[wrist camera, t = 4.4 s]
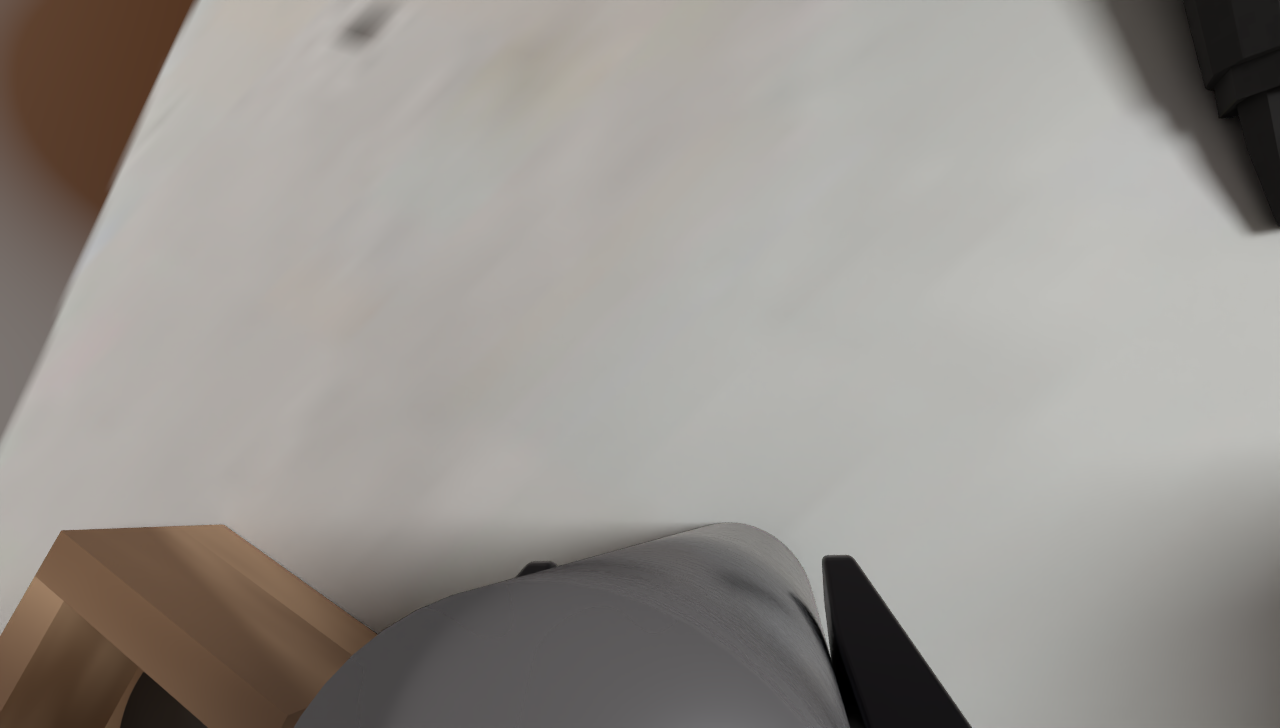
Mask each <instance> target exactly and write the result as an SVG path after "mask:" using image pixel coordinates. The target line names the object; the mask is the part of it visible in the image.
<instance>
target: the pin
mask: <svg viewBox="0 0 1280 728" xmlns="http://www.w3.org/2000/svg"><path fill="white" fill-rule="evenodd" d="M294 728H850V726H849V722H848V719H847V715H846V711H845V708H844V704H843V701H842V697H841V693H840V690H839V686H838V682H837V679H836V675H835V671H834V668H833V664H832V661H831V657H830V653H829V650H828V646H827V642H826V639H825V635H824V632H823V628H822V624H821V621H820V617H819V613H818V610H817V606H816V603H815V599H814V595H813V592H812V588H811V585H810V582H809V579H808V577H807V575H806V573H805V571H804V569H803V567H802V566H801V564H800V562H799V561H798V559H797V558H796V557H795V556H794V554H793V553H792V552H791V551H790V550H789V549H788V548H787V547H786V546H785V545H784V544H783V543H782V542H781V541H779V540H778V539H777V538H775V537H774V536H772V535H771V534H769V533H767V532H766V531H763V530H761V529H759V528H756V527H753V526H750V525H746V524H741V523H726V522H725V523H716V524H712V525H708V526H704V527H700V528H697V529H693V530H689V531H686V532H682V533H678V534H675V535H671V536H667V537H664V538H660V539H656V540H653V541H649V542H645V543H642V544H638V545H634V546H631V547H627V548H624V549H620V550H616V551H613V552H609V553H605V554H602V555H598V556H594V557H591V558H587V559H583V560H580V561H576V562H572V563H569V564H565V565H561V566H558V567H554V568H550V569H547V570H543V571H539V572H536V573H532V574H528V575H525V576H521V577H517V578H514V579H510V580H506V581H503V582H499V583H495V584H492V585H488V586H484V587H481V588H477V589H473V590H470V591H466V592H462V593H459V594H455V595H451V596H449V597H447V598H444V599H442V600H440V601H437V602H435V603H433V604H430V605H428V606H425V607H423V608H421V609H418V610H416V611H414V612H413V613H411V614H409V615H408V616H406V617H404V618H403V619H401V620H399V621H398V622H396V623H395V624H393V625H391V626H390V627H388V628H386V629H385V630H383V631H382V632H381V633H379V634H378V635H377V636H376V637H374V638H373V639H372V640H371V641H369V642H368V643H367V644H366V645H364V646H363V647H362V648H361V649H359V650H358V651H357V652H356V653H354V654H353V655H352V656H351V657H350V658H349V659H348V660H347V661H346V662H345V663H344V664H343V666H342V667H341V668H340V669H339V670H338V671H337V672H336V673H335V674H334V675H333V676H332V677H331V678H330V679H329V680H328V681H327V682H326V683H325V684H324V686H323V687H322V688H321V690H320V691H319V692H318V694H317V695H316V696H315V698H314V699H313V700H312V702H311V703H310V704H309V706H308V707H307V708H306V710H305V711H304V712H303V714H302V715H301V716H300V718H299V720H298V721H297V723H296V725H295V726H294Z"/></svg>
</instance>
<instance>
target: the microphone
mask: <svg viewBox="0 0 1280 728" xmlns="http://www.w3.org/2000/svg"><path fill="white" fill-rule="evenodd" d="M1183 2H1184V6H1185V10H1186V14H1187V18H1188V22H1189V25H1190V29H1191V33H1192V37H1193V41H1194V45H1195V49H1196V53H1197V57H1198V61H1199V65H1200V69H1201V73H1202V77H1203V81H1204V85H1205V88H1206V89H1209V90H1215V96H1216V102H1217V108H1218V114H1219V118H1231V117H1235V116H1239V118H1240V122H1241V126H1242V130H1243V133H1244V137H1245V141H1246V145H1247V149H1248V151H1249V154H1250V156H1251V159H1252V162H1253V164H1254V167H1255V169H1256V172H1257V174H1258V177H1259V179H1260V182H1261V184H1262V187H1263V189H1264V192H1265V194H1266V197H1267V199H1268V202H1269V204H1270V207H1271V209H1272V212H1273V214H1274V217H1275V219H1276V222H1277V224H1278V225H1279V226H1280V0H1183Z"/></svg>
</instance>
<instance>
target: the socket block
mask: <svg viewBox="0 0 1280 728" xmlns="http://www.w3.org/2000/svg"><path fill="white" fill-rule="evenodd" d="M376 636H377V634H376V633H375V632H373V631H372V630H370V629H369V628H368V627H366V626H365V625H363V624H362V623H361V622H359V621H358V620H356V619H355V618H354V617H352V616H351V615H349V614H348V613H347V612H345V611H344V610H342V609H341V608H340V607H338V606H337V605H335V604H334V603H333V602H331V601H330V600H328V599H327V598H325V597H324V596H323V595H321V594H320V593H318V592H317V591H316V590H314V589H313V588H311V587H310V586H309V585H307V584H306V583H304V582H303V581H302V580H300V579H299V578H297V577H296V576H295V575H293V574H292V573H290V572H289V571H288V570H286V569H285V568H283V567H282V566H281V565H279V564H278V563H276V562H275V561H274V560H272V559H271V558H269V557H268V556H267V555H265V554H264V553H262V552H261V551H260V550H258V549H257V548H255V547H254V546H253V545H251V544H250V543H248V542H247V541H246V540H244V539H243V538H241V537H240V536H239V535H237V534H236V533H234V532H233V531H232V530H230V529H229V528H227V527H226V526H225V525H197V526H170V527H143V528H117V529H90V530H63V531H61V532H60V534H59V535H58V537H57V539H56V540H55V542H54V544H53V546H52V547H51V549H50V551H49V553H48V554H47V556H46V558H45V560H44V561H43V563H42V565H41V566H40V568H39V570H38V572H37V573H36V575H35V577H34V579H33V580H32V582H31V584H30V586H29V587H28V589H27V591H26V592H25V594H24V596H23V598H22V599H21V601H20V603H19V605H18V606H17V608H16V610H15V612H14V613H13V615H12V617H11V618H10V620H9V622H8V624H7V625H6V627H5V629H4V631H3V632H2V634H1V636H0V728H294V726H295V725H296V723H297V721H298V720H299V718H300V716H301V715H302V714H303V712H304V711H305V710H306V708H307V707H308V706H309V704H310V703H311V702H312V700H313V699H314V698H315V696H316V695H317V694H318V692H319V691H320V690H321V688H322V687H323V686H324V684H325V683H326V682H327V681H328V680H329V679H330V678H331V677H332V676H333V675H334V674H335V673H336V672H337V671H338V670H339V669H340V668H341V667H342V666H343V664H344V663H345V662H346V661H347V660H348V659H349V658H350V657H351V656H352V655H353V654H354V653H356V652H357V651H358V650H359V649H361V648H362V647H363V646H364V645H366V644H367V643H368V642H369V641H371V640H372V639H373V638H374V637H376Z"/></svg>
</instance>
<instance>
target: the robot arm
mask: <svg viewBox="0 0 1280 728" xmlns="http://www.w3.org/2000/svg"><path fill="white" fill-rule="evenodd" d="M554 567H558V566H557V564H556V563H554V562H552V561H534V562H531V563H529V564H527V565H526V566H525V567H524V568H523V569H522V571H521V572H520V573H519V574H518V575H517V576H516V577H515V578H517V577H521V576H525V575H528V574H532V573H536V572H539V571H543V570H547V569H550V568H554ZM822 572H823V589H824V602H825V611H826V619H827V628H828V636H829V645H830V653H831V661H832V664H833V668H834V671H835V675H836V679H837V682H838V686H839V690H840V693H841V697H842V701H843V704H844V708H845V711H846V715H847V719H848V722H849V726H850V728H972V727H971V726H970V724H969V723H968V721H967V720H966V718H965V717H964V716H963V714H962V713H961V711H960V710H959V708H958V707H957V705H956V704H955V703H954V701H953V700H952V698H951V697H950V695H949V694H948V693H947V691H946V690H945V688H944V687H943V685H942V684H941V683H940V681H939V680H938V678H937V677H936V675H935V674H934V672H933V671H932V670H931V668H930V667H929V665H928V664H927V662H926V661H925V660H924V658H923V657H922V655H921V654H920V652H919V651H918V649H917V648H916V647H915V645H914V644H913V642H912V641H911V639H910V638H909V637H908V635H907V634H906V632H905V631H904V629H903V628H902V627H901V625H900V624H899V622H898V621H897V619H896V618H895V616H894V615H893V614H892V612H891V611H890V609H889V608H888V606H887V605H886V604H885V602H884V601H883V599H882V598H881V596H880V595H879V594H878V592H877V591H876V589H875V588H874V586H873V585H872V583H871V582H870V581H869V579H868V578H867V576H866V575H865V573H864V572H863V571H862V569H861V568H860V566H859V565H858V563H857V562H856V561H855V559H854V558H853V557H851V556H849V555H827V556H824V557H823V559H822Z"/></svg>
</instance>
